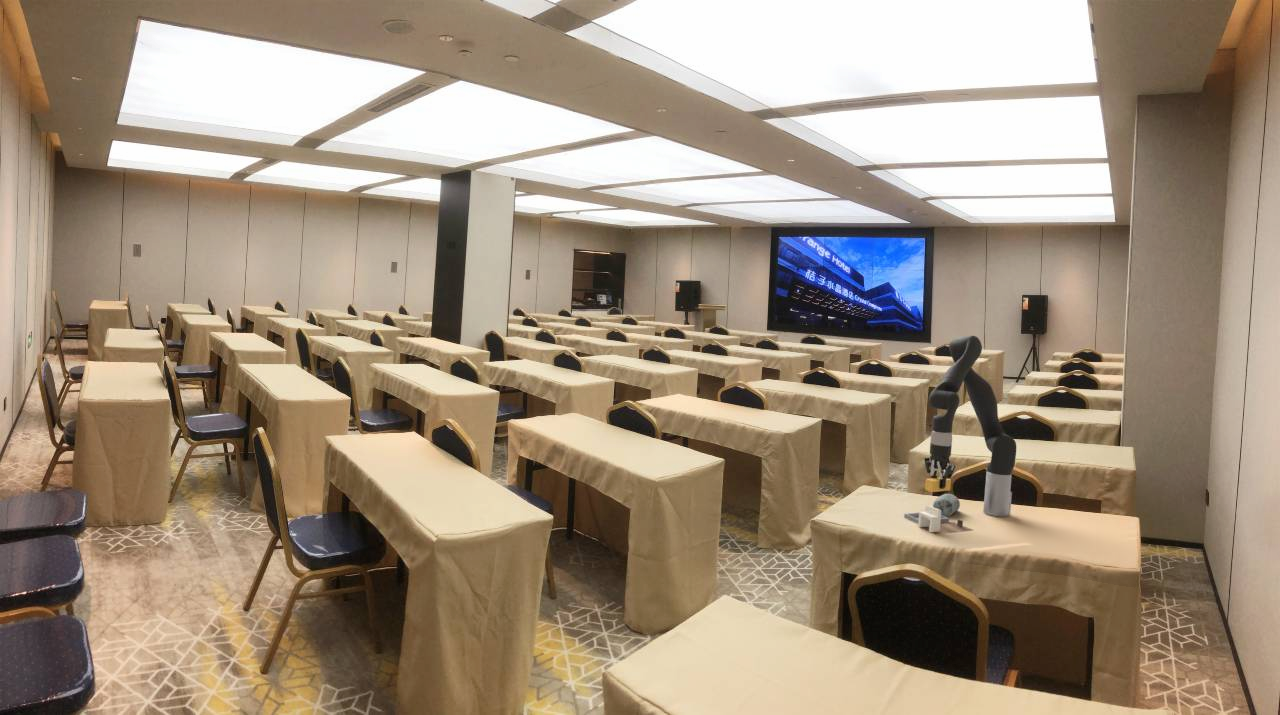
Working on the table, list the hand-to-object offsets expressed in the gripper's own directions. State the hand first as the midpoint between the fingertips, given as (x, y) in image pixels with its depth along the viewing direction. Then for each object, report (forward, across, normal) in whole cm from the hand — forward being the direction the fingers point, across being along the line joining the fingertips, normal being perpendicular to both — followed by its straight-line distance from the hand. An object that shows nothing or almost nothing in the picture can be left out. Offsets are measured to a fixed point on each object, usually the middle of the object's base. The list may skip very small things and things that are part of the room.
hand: (937, 486), depth 277 cm
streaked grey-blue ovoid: (+15, -10, +15) cm, 23 cm away
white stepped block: (+14, +6, -8) cm, 17 cm away
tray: (+15, -4, 0) cm, 16 cm away
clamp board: (+15, +6, -1) cm, 16 cm away
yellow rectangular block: (+1, 0, 0) cm, 1 cm away
